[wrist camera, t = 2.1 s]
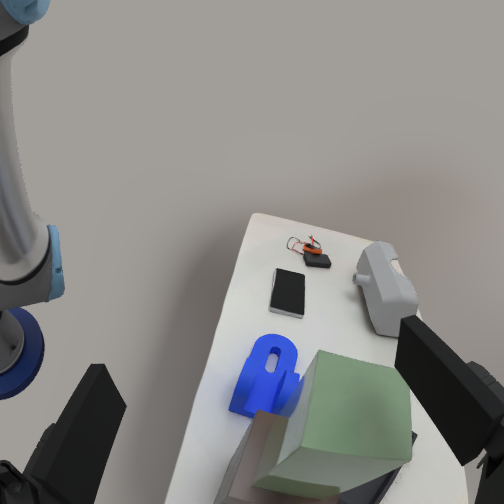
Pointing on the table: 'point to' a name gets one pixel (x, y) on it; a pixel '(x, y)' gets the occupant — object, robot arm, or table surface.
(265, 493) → the stand
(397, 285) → the tank
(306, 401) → the green block
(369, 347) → the table surface
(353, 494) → the tray
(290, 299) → the smartphone
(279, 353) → the bracket
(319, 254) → the multimeter
